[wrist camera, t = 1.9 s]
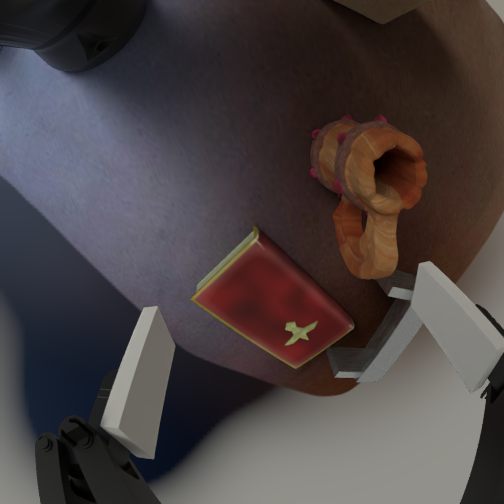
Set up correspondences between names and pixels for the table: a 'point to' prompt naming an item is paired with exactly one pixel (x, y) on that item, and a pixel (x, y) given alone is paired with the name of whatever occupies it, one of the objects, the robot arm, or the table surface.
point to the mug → (368, 187)
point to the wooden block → (382, 8)
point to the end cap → (381, 335)
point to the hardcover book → (272, 302)
